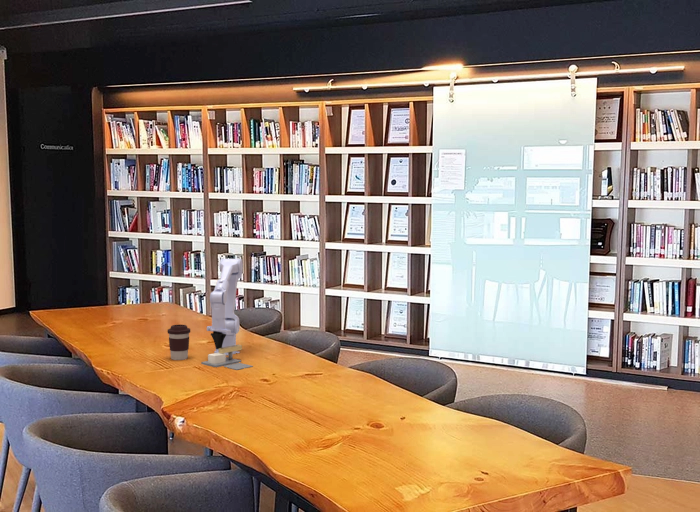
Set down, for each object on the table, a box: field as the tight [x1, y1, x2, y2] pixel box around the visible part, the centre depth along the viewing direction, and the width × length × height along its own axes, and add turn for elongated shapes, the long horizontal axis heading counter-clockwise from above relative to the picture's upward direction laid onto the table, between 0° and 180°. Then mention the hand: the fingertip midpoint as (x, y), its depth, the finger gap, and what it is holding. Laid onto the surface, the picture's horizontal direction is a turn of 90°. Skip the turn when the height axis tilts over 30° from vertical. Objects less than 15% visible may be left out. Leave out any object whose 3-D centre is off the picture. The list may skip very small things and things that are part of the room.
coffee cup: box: [167, 324, 191, 361], centre depth 342 cm, size 10×10×15 cm
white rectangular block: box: [207, 352, 227, 364], centre depth 332 cm, size 4×6×4 cm
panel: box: [201, 352, 242, 368], centre depth 333 cm, size 10×14×5 cm
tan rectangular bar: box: [219, 344, 243, 353], centre depth 337 cm, size 2×11×2 cm, turn 138°
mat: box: [223, 362, 254, 371], centre depth 328 cm, size 9×9×1 cm
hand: (218, 348), depth 338 cm, fingers closed
